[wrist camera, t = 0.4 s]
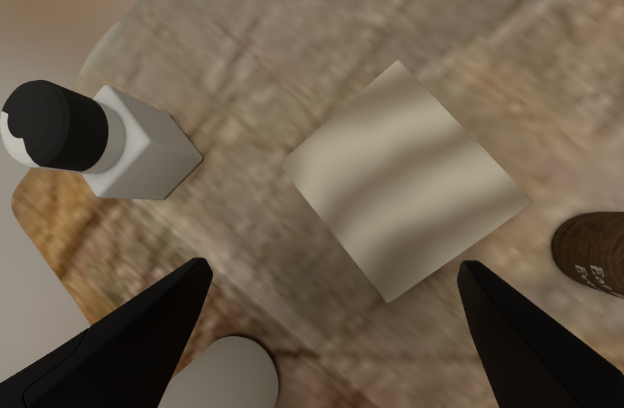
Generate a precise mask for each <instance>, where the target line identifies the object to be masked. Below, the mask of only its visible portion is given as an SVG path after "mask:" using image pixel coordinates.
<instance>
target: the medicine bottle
mask: <svg viewBox="0 0 624 408" xmlns="http://www.w3.org/2000/svg"><path fill="white" fill-rule="evenodd" d="M0 129H1V135H2V140H3V143H4V145H5V148H6V149H7V151H8V152H9V154H10V155H11V156H12V157H13V158H14V159H16V160H17V161H18V162H20V163H21V164H23V165H25V166H28V167H34V168H42V169H50V170H58V171H66V172H74V173H81V174H82V176H83V177H84V179H85V180H86V182H87V183H88V185H89V186H90V188H91V189H92V191H93V192H94V193H95V195H96V196H97V197H102V198H125V199H148V200H163V199H164V198H165V197H166V196H167V195H168V194H169V193H170V192H171V191H172V190H173V189H174V188H175V187H176V186H177V185H178V184H179V183H180V182H181V181H182V180H183V179H184V178H185V177H186V176H187V175H188V174H189V173H190V172H191V171H192V170H193V169H194V168H195V167H196V166H197V165H198V164H199V163H200V162H201V161H202V159H203V157H202V156H201V154H200V153H199V152H198V151H197V149H196V148H195V147H194V145H193V144H192V143H191V142H190V140H189V139H188V138H187V137H186V135H185V134H184V133H183V132H182V130H181V129H180V128H179V126H178V125H177V124H176V123H175V121H174V120H173V119H172V118H171V116H170V115H169V114H167V113H165V112H163V111H161V110H159V109H157V108H155V107H153V106H151V105H149V104H147V103H144V102H142V101H140V100H138V99H136V98H134V97H132V96H130V95H128V94H126V93H124V92H122V91H120V90H118V89H116V88H114V87H112V86H109V85H105V86H103V87H102V89H101V90H100V91H99V92H98V93H97V94H96V96H95V97H94V98H93V99H91V98H88V97H86V96H84V95H81V94H79V93H76V92H74V91H71V90H69V89H66V88H64V87H61V86H59V85H56V84H54V83H52V82H49V81H45V80H36V81H30V82H27V83H24V84H22V85H20V86H19V87H18V88H16V89H15V90H14V91H13V92H12V94H11V95H10V96H9V98H8V99H7V101H6V103H5V105H4V107H3V109H2V113H1V118H0Z"/></svg>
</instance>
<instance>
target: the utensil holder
mask: <svg viewBox="0 0 624 408" xmlns="http://www.w3.org/2000/svg"><path fill="white" fill-rule="evenodd" d="M553 254H554V257H555V260H556V262H557V264H558V265H559V267H560V268H561V269H562V270H563V271H564V272H565V273H566V274H567V275H568V276H569V277H571V278H572V279H574V280H576V281H577V282H579V283H581V284H583V285H586V286H588V287H591V288H593V289H596V290H599V291H602V292H605V293H607V294H610V295H613V296H616V297H619V298H622V299H624V212H595V213H588V214H583V215H580V216H577V217H575V218H572V219H571V220H569V221H567V222H566V223H565V224H564V225H563V226H562V227H561V228H560V229H559V230H558V232H557V233H556V235H555V238H554V241H553Z"/></svg>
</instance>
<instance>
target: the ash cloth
mask: <svg viewBox="0 0 624 408" xmlns="http://www.w3.org/2000/svg"><path fill="white" fill-rule="evenodd" d="M279 165H280V167H281V168H282V169H283V171H284V172H285V173H286V174H287V176H288V177H289V178H290V180H291V181H292V182H293V183H294V185H295V186H296V187H297V188H298V190H299V191H300V192H301V194H302V195H303V196H304V197H305V199H306V200H307V201H308V203H309V204H310V205H311V206H312V208H313V209H314V210H315V211H316V213H317V214H318V215H319V217H320V218H321V219H322V220H323V222H324V223H325V224H326V226H327V227H328V228H329V229H330V231H331V232H332V233H333V234H334V236H335V237H336V238H337V240H338V241H339V242H340V243H341V245H342V246H343V247H344V249H345V250H346V251H347V252H348V254H349V255H350V256H351V258H352V259H353V260H354V261H355V263H356V264H357V265H358V266H359V268H360V269H361V270H362V272H363V273H364V274H365V275H366V277H367V278H368V279H369V281H370V282H371V283H372V284H373V286H374V287H375V288H376V289H377V291H378V292H379V293H380V295H381V296H382V297H383V298H384V300H385V301H386V302H387V304H389V303H390V302H392V301H393V300H394V299H396V298H397V297H399V296H400V295H402V294H403V293H404V292H406V291H407V290H409V289H410V288H412V287H413V286H414V285H416V284H417V283H419V282H420V281H422V280H423V279H425V278H426V277H427V276H429V275H430V274H432V273H433V272H435V271H436V270H437V269H439V268H440V267H442V266H443V265H445V264H446V263H448V262H449V261H450V260H452V259H453V258H455V257H456V256H458V255H459V254H460V253H462V252H463V251H465V250H466V249H468V248H469V247H470V246H472V245H473V244H475V243H476V242H478V241H479V240H481V239H482V238H483V237H485V236H486V235H488V234H489V233H491V232H492V231H493V230H495V229H496V228H498V227H499V226H501V225H502V224H503V223H505V222H506V221H508V220H509V219H511V218H512V217H514V216H515V215H516V214H518V213H519V212H521V211H522V210H524V209H525V208H526V207H528V206H529V205H531V204H532V203H534V201H533V200H532V199H531V198H530V197H529V196H528V195H527V194H526V193H525V192H524V191H523V190H522V189H521V188H520V187H519V186H518V184H517V183H516V182H515V181H514V180H513V179H512V178H511V177H510V176H509V175H508V174H507V173H506V172H505V171H504V170H503V169H502V168H501V167H500V166H499V165H498V164H497V163H496V162H495V160H494V159H493V158H492V157H491V156H490V155H489V154H488V153H487V152H486V151H485V150H484V149H483V148H482V147H481V146H480V145H479V144H478V143H477V142H476V141H475V140H474V139H473V137H472V136H471V135H470V134H469V133H468V132H467V131H466V130H465V129H464V128H463V127H462V126H461V125H460V124H459V123H458V122H457V121H456V120H455V119H454V118H453V117H452V116H451V115H450V113H449V112H448V111H447V110H446V109H445V108H444V107H443V106H442V105H441V104H440V103H439V102H438V101H437V100H436V99H435V98H434V97H433V96H432V95H431V94H430V93H429V92H428V91H427V89H426V88H425V87H424V86H423V85H422V84H421V83H420V82H419V81H418V80H417V79H416V78H415V77H414V76H413V75H412V74H411V73H410V72H409V71H408V70H407V69H406V68H405V67H404V65H403V64H402V63H401V62H400V61H399V60H397V61H395V62H394V63H393V64H392V65H391V66H390V67H389V68H387V69H386V70H385V71H384V72H383V73H382V74H381V75H379V76H378V77H377V78H376V79H375V80H374V81H373V82H371V83H370V84H369V85H368V86H367V87H366V88H365V89H363V90H362V91H361V92H360V93H359V94H358V95H357V96H355V97H354V98H353V99H352V100H351V101H350V102H349V103H348V104H346V105H345V106H344V107H343V108H342V109H341V110H340V111H338V112H337V113H336V114H335V115H334V116H333V117H332V118H330V119H329V120H328V121H327V122H326V123H325V124H324V125H322V126H321V127H320V128H319V129H318V130H317V131H316V132H314V133H313V134H312V135H311V136H310V137H309V138H308V139H306V140H305V141H304V142H303V143H302V144H301V145H300V146H298V147H297V148H296V149H295V150H294V151H293V152H292V153H290V154H289V155H288V156H287V157H286V158H285V159H284V160H282V161H281V162H280V163H279Z"/></svg>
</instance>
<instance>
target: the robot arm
mask: <svg viewBox="0 0 624 408" xmlns="http://www.w3.org/2000/svg"><path fill="white" fill-rule="evenodd" d="M212 278H213V272H212V270H211V268H210V266H209V264H208V262H207V260H206V259H205V258H192V259H191V260H189V261H188V262H186V263H185V264H183V265H182V266H180V267H179V268H177V269H176V270H174V271H173V272H171V273H170V274H168V275H167V276H165V277H164V278H162V279H161V280H159V281H158V282H156V283H155V284H153V285H152V286H150V287H149V288H147V289H146V290H144V291H143V292H141V293H140V294H138V295H137V296H135V297H134V298H132V299H131V300H129V301H128V302H126V303H125V304H123V305H122V306H120V307H119V308H117V309H116V310H114V311H113V312H111V313H110V314H108V315H107V316H105V317H104V318H102V319H101V320H99V321H98V322H96V323H95V324H93V325H92V326H90V328H87V329H86V330H84V331H83V332H81V333H80V334H78V335H77V336H75V337H74V338H72V339H71V340H69V341H68V342H66V343H65V344H63V345H61V346H60V347H58V348H57V349H55V350H54V351H52V352H50V353H49V354H47V355H46V356H44V357H43V358H41V359H39V360H37V361H36V362H34V363H33V364H31V365H29V366H28V367H26V368H24V369H23V370H21V371H20V372H18V373H16V374H15V375H13V376H11V377H10V378H8V379H6V380H5V381H3V382H1V383H0V408H158V406H159V404H160V401H161V399H162V397H163V395H164V393H165V390H166V388H167V386H168V384H169V382H170V379H171V377H172V375H173V373H174V371H175V368H176V366H177V364H178V362H179V360H180V357H181V355H182V353H183V351H184V349H185V347H186V344H187V342H188V340H189V338H190V336H191V333H192V331H193V329H194V327H195V325H196V322H197V320H198V318H199V315H200V313H201V310H202V307H203V304H204V301H205V298H206V296H207V293H208V290H209V287H210V284H211V281H212ZM457 284H458V288H459V292H460V296H461V299H462V303H463V307H464V311H465V314H466V318H467V322H468V326H469V329H470V333H471V336H472V338H473V341H474V344H475V346H476V349H477V352H478V354H479V357H480V359H481V362H482V364H483V367H484V369H485V372H486V375H487V377H488V380H489V382H490V385H491V387H492V390H493V393H494V395H495V398H496V400H497V403H498V405H499V408H624V375H623V373H622V372H621V371H620V370H619V369H617V368H616V367H615V366H614V365H612V364H611V363H610V362H608V361H607V360H606V359H605V358H603V357H602V356H601V355H599V354H598V353H597V352H595V351H594V350H593V349H592V348H590V347H589V346H588V345H586V344H585V343H584V342H583V341H581V340H580V339H579V338H577V337H576V336H575V335H574V334H572V333H571V332H570V331H568V330H567V329H566V328H565V327H563V326H562V325H561V324H559V323H558V322H557V321H556V320H554V319H553V318H552V317H550V316H549V315H548V314H547V313H545V312H544V311H543V310H541V309H540V308H539V307H537V306H536V305H535V304H534V303H532V302H531V301H530V300H528V299H527V298H526V297H525V296H523V295H522V294H521V293H519V292H518V291H517V290H516V289H514V288H513V287H512V286H510V285H509V284H508V283H507V282H505V281H504V280H503V279H501V278H500V277H499V276H498V275H496V274H495V273H494V272H492V271H491V270H490V269H489V268H487V267H486V266H485V265H483V264H482V263H481V262H479V261H477V260H463V261H462V262H461V265H460V269H459V273H458V277H457Z"/></svg>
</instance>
